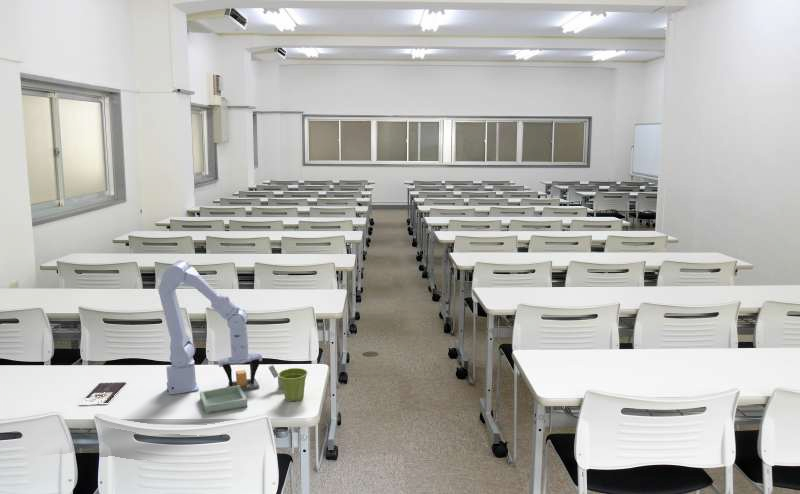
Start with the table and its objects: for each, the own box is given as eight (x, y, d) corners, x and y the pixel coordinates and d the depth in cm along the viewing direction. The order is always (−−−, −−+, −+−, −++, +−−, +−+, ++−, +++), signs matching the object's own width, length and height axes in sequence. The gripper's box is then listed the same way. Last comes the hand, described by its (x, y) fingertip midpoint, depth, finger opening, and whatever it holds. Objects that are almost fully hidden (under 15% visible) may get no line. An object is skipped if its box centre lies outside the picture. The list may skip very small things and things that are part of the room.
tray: (205, 414, 216) (205, 406, 215) (200, 399, 227) (199, 391, 227) (247, 406, 221) (246, 399, 220) (239, 392, 232) (239, 385, 232)
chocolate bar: (125, 382, 242) (107, 403, 224) (126, 384, 242) (107, 405, 224) (99, 383, 241) (78, 404, 224) (100, 385, 242) (79, 406, 224)
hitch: (231, 392, 232) (231, 389, 232) (228, 385, 239) (228, 382, 238) (259, 388, 236) (258, 384, 236) (255, 381, 242) (254, 377, 242)
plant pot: (295, 406, 221) (294, 380, 219) (273, 400, 226) (272, 375, 224) (314, 396, 229) (313, 371, 227) (292, 390, 233) (291, 366, 232)
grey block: (291, 386, 237) (290, 364, 236) (290, 388, 236) (289, 365, 234) (270, 386, 237) (269, 364, 236) (269, 388, 235) (268, 366, 234)
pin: (238, 389, 235) (237, 374, 234) (236, 386, 238) (235, 371, 237) (247, 387, 236) (246, 372, 235) (245, 384, 239) (244, 369, 238)
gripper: (219, 352, 228) (222, 390, 230) (263, 345, 233) (265, 383, 236) (216, 345, 234) (218, 383, 237) (258, 339, 240) (260, 376, 242)
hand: (241, 383), depth 237 cm, fingers open, 7 cm apart
